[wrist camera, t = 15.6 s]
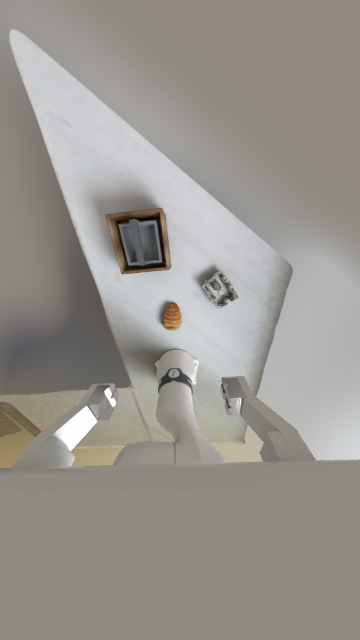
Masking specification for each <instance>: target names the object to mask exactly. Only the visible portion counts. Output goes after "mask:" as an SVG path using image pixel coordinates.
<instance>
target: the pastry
mask: <svg viewBox="0 0 360 640" xmlns="http://www.w3.org/2000/svg"><path fill="white" fill-rule="evenodd" d="M162 323H163V324H162V325H163V327H164V328H165V329H167V330H176V329H178V328H179V327H180V324H181V314H180V310H179V307H178V305H177V304H174V303H172V304H169V305H168V306H167V307H166V309H165V311H164V314H163V321H162Z"/></svg>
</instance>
